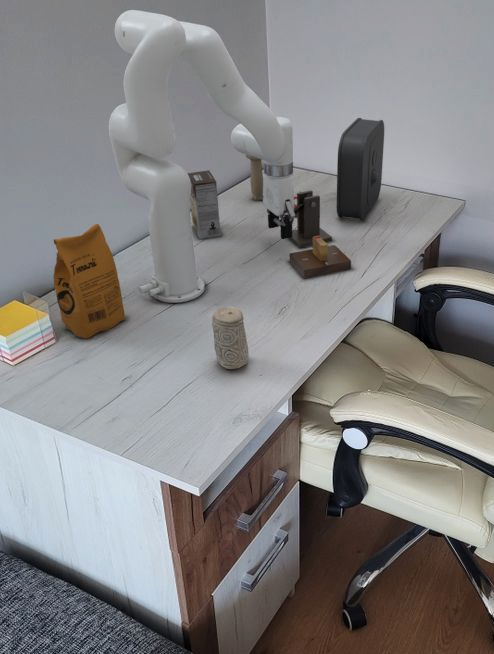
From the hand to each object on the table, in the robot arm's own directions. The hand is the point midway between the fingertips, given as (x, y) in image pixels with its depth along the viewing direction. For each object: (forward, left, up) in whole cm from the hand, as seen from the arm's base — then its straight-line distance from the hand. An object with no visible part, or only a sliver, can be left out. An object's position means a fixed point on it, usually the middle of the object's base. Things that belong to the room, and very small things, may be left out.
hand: (280, 232), depth 180 cm
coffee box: (-10, +21, -4) cm, 23 cm away
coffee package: (-57, -2, -4) cm, 57 cm away
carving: (-44, -35, -4) cm, 56 cm away
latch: (+5, -1, +4) cm, 7 cm away
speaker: (+34, +2, -4) cm, 35 cm away
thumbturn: (-1, -16, -1) cm, 16 cm away
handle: (+16, +30, -4) cm, 34 cm away
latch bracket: (+8, -2, -4) cm, 9 cm away
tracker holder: (+20, +15, -4) cm, 25 cm away
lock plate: (-1, -16, -4) cm, 17 cm away
